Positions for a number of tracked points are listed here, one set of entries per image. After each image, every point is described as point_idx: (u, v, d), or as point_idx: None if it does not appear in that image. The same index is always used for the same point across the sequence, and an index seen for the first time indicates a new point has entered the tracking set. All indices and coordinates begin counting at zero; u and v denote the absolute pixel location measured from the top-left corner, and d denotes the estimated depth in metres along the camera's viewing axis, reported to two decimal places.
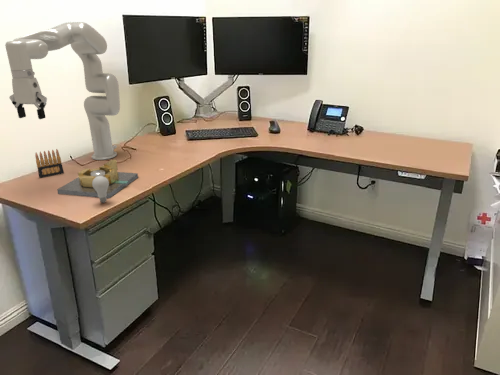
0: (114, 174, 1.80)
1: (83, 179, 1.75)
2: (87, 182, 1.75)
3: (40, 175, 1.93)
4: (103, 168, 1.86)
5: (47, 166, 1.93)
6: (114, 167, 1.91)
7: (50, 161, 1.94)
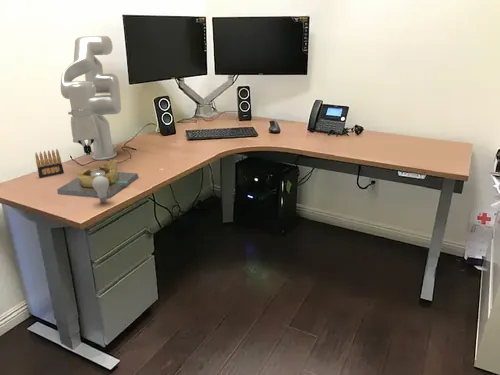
0: (114, 174, 1.80)
1: (83, 179, 1.75)
2: (87, 182, 1.75)
3: (40, 175, 1.93)
4: (103, 168, 1.86)
5: (47, 166, 1.93)
6: (114, 167, 1.91)
7: (50, 161, 1.94)
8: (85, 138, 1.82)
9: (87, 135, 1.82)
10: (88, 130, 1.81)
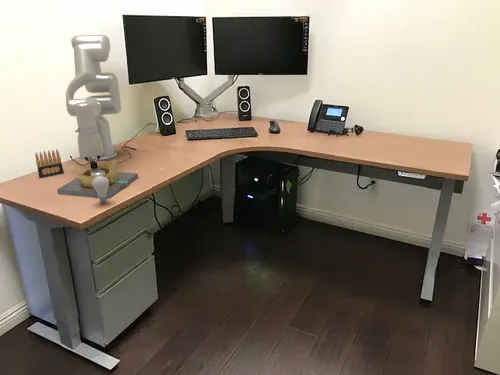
0: (114, 174, 1.80)
1: (83, 179, 1.75)
2: (87, 182, 1.75)
3: (40, 175, 1.93)
4: (103, 168, 1.86)
5: (47, 166, 1.93)
6: (114, 167, 1.91)
7: (50, 161, 1.94)
8: (92, 155, 1.86)
9: (93, 152, 1.85)
10: (94, 147, 1.85)
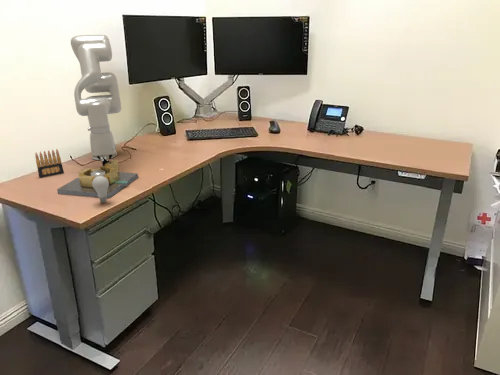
0: (114, 174, 1.79)
1: (82, 179, 1.75)
2: (86, 182, 1.75)
3: (40, 175, 1.93)
4: (104, 168, 1.86)
5: (47, 166, 1.93)
6: (115, 167, 1.91)
7: (50, 161, 1.94)
8: (103, 154, 1.87)
9: (105, 151, 1.86)
10: (106, 146, 1.86)
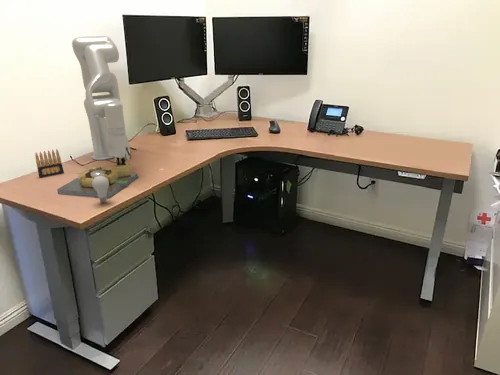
0: None
1: (78, 175, 1.79)
2: (79, 179, 1.78)
3: (40, 175, 1.93)
4: (110, 170, 1.84)
5: (47, 166, 1.93)
6: (125, 171, 1.86)
7: (50, 161, 1.94)
8: (114, 155, 1.84)
9: (115, 153, 1.83)
10: (116, 149, 1.82)
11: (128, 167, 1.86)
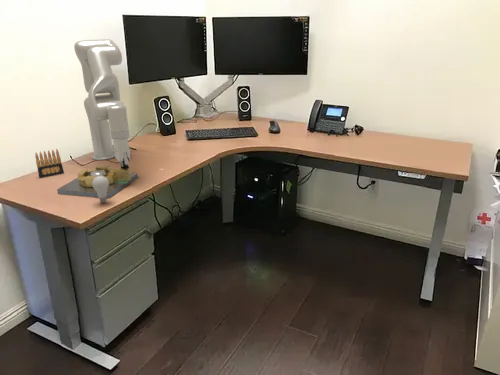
0: (92, 180, 1.74)
1: None
2: None
3: (40, 175, 1.93)
4: None
5: (47, 166, 1.93)
6: (123, 176, 1.80)
7: (50, 161, 1.94)
8: (117, 158, 1.81)
9: (117, 156, 1.79)
10: (116, 152, 1.78)
11: (127, 172, 1.80)
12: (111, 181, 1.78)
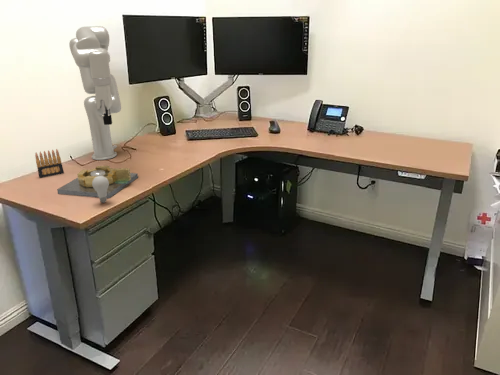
0: (92, 180, 1.74)
1: None
2: None
3: (40, 175, 1.93)
4: None
5: (47, 166, 1.93)
6: (123, 176, 1.80)
7: (50, 161, 1.94)
8: None
9: None
10: None
11: (126, 172, 1.80)
12: (111, 181, 1.78)
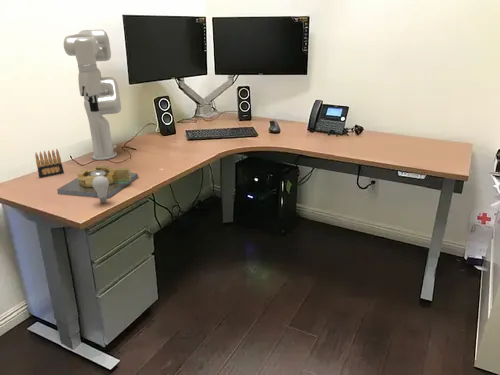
0: (92, 180, 1.74)
1: None
2: None
3: (40, 175, 1.93)
4: None
5: (47, 166, 1.93)
6: (123, 176, 1.80)
7: (50, 161, 1.94)
8: None
9: None
10: None
11: (126, 172, 1.80)
12: (111, 181, 1.78)
